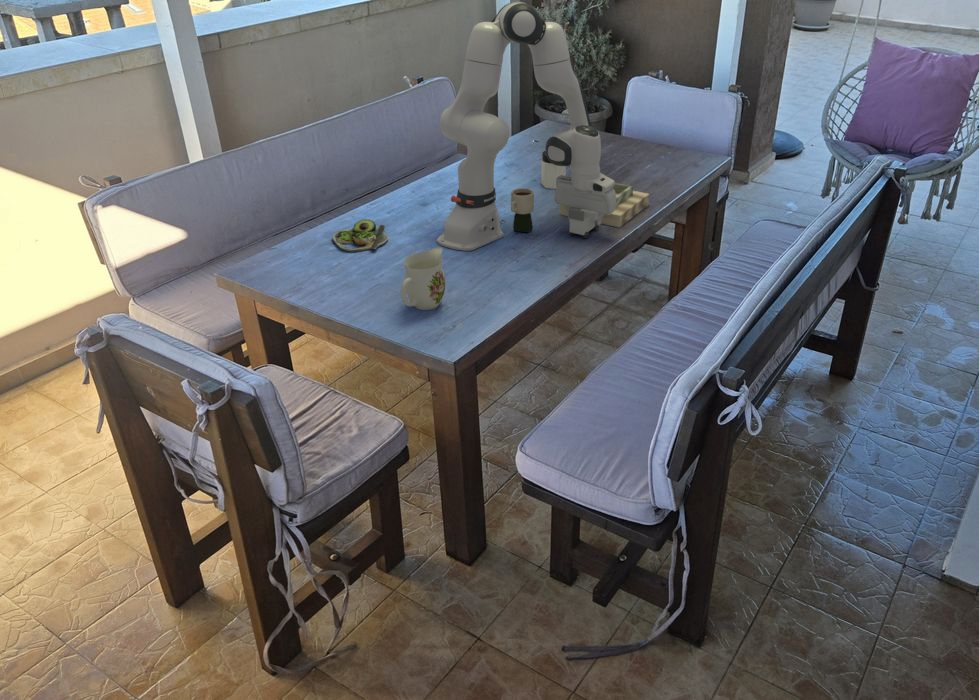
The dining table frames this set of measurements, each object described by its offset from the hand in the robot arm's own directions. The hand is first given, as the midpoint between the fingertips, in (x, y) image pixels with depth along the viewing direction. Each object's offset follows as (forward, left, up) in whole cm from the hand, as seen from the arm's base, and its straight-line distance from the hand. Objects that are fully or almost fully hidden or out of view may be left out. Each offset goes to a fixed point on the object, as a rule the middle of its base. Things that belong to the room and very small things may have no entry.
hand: (584, 221), depth 268 cm
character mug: (-8, +18, -4) cm, 20 cm away
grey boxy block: (0, 0, -4) cm, 4 cm away
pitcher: (-65, +14, -4) cm, 67 cm away
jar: (+32, +30, -4) cm, 44 cm away
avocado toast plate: (-40, +59, -4) cm, 71 cm away
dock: (+20, +3, -4) cm, 20 cm away
